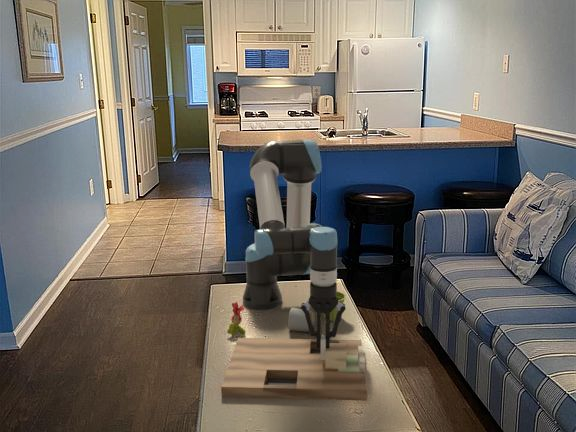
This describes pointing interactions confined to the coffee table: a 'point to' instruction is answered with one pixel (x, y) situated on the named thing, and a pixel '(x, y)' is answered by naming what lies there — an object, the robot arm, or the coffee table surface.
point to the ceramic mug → (298, 320)
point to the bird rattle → (236, 320)
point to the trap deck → (293, 371)
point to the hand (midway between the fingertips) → (323, 357)
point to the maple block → (335, 356)
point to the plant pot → (341, 298)
